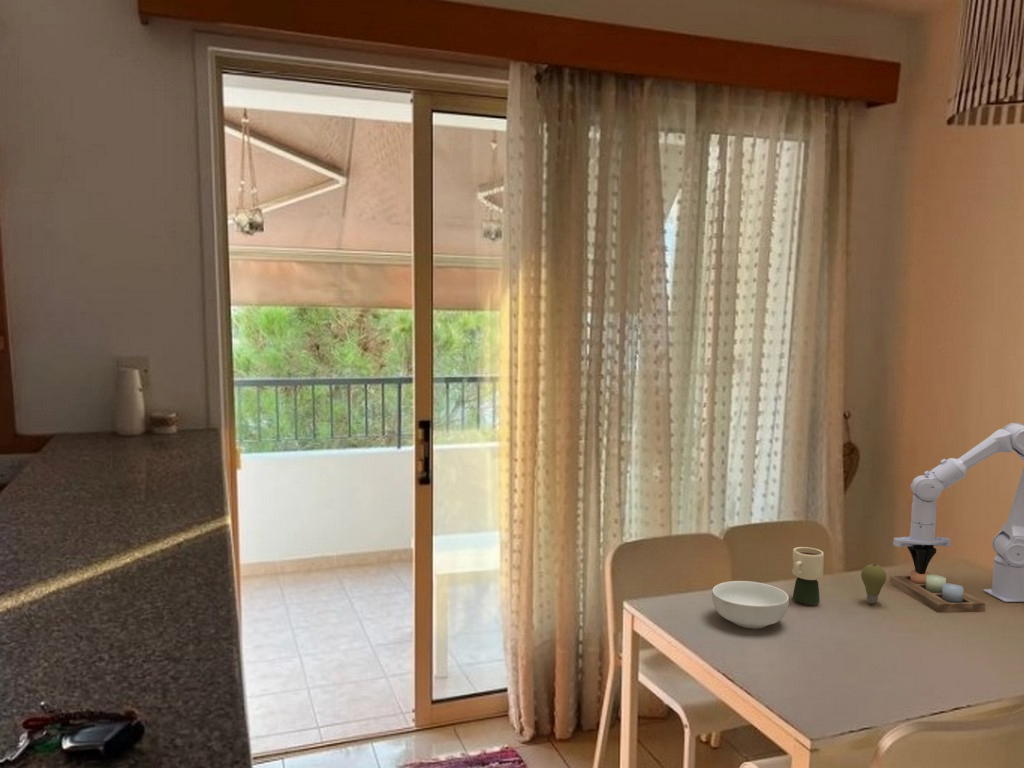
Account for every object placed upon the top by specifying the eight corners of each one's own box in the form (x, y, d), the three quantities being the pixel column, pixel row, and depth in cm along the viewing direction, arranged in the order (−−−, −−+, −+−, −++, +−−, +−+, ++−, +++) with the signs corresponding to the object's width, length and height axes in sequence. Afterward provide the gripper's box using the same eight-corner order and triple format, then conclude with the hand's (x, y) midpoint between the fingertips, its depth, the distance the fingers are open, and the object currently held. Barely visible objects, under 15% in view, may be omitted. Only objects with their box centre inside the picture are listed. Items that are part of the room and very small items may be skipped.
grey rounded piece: (954, 596, 189) (955, 583, 189) (966, 603, 185) (967, 589, 185) (937, 597, 189) (938, 583, 189) (949, 603, 185) (950, 589, 184)
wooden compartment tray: (932, 582, 204) (933, 575, 204) (984, 611, 184) (985, 603, 184) (889, 583, 203) (890, 575, 203) (937, 612, 183) (938, 604, 183)
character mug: (804, 593, 195) (806, 543, 194) (830, 601, 189) (833, 550, 188) (780, 603, 188) (783, 551, 187) (807, 611, 182) (810, 559, 181)
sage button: (938, 587, 196) (938, 574, 195) (949, 593, 191) (950, 580, 191) (921, 587, 195) (922, 574, 195) (932, 594, 191) (933, 580, 191)
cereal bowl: (758, 605, 187) (759, 576, 186) (803, 632, 171) (805, 601, 170) (697, 612, 181) (698, 583, 181) (738, 640, 166) (739, 609, 165)
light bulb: (887, 609, 185) (889, 569, 184) (862, 607, 186) (865, 567, 185) (881, 600, 190) (883, 561, 189) (857, 598, 191) (859, 560, 190)
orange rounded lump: (922, 582, 202) (922, 569, 202) (932, 588, 198) (933, 575, 198) (906, 582, 202) (907, 570, 202) (916, 588, 198) (917, 575, 197)
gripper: (939, 517, 203) (936, 567, 204) (887, 518, 202) (884, 568, 203) (957, 525, 196) (953, 576, 197) (903, 525, 195) (900, 577, 196)
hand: (920, 572), depth 200 cm, fingers closed, pressing on orange rounded lump
